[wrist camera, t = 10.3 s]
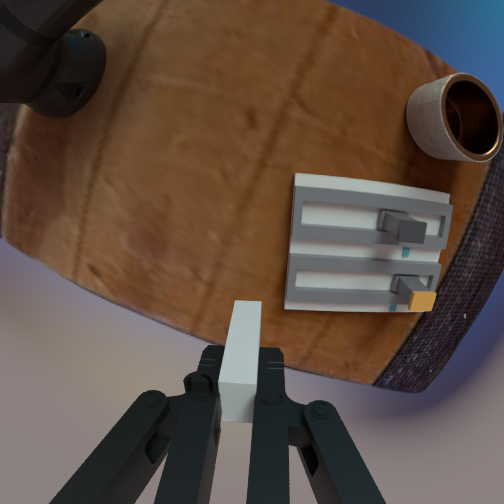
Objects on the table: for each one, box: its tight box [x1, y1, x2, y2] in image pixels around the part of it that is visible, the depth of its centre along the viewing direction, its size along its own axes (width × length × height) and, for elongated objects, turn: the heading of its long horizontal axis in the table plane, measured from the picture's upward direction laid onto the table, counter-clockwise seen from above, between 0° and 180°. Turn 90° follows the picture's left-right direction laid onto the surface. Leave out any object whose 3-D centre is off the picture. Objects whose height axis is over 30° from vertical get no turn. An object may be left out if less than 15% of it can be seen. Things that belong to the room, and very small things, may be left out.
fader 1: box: [377, 210, 427, 244], centre depth 31 cm, size 2×4×6 cm, turn 87°
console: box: [284, 173, 453, 312], centre depth 36 cm, size 18×22×3 cm
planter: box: [406, 73, 503, 162], centre depth 27 cm, size 11×11×10 cm
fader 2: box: [391, 274, 436, 311], centre depth 33 cm, size 2×4×6 cm, turn 88°
